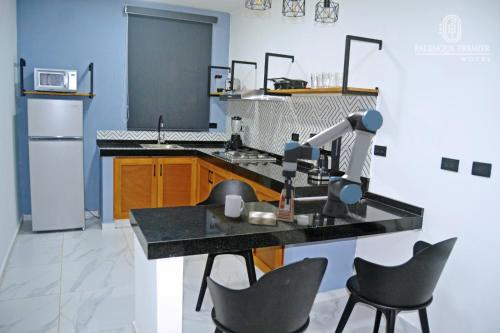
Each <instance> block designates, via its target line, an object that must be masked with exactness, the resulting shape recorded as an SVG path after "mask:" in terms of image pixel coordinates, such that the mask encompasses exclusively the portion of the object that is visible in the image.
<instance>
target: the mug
mask: <svg viewBox="0 0 500 333" xmlns="http://www.w3.org/2000/svg"><path fill="white" fill-rule="evenodd" d="M224 205H225V206H224V215H225V217H228V218H238V217H240V216H241V212H242V211H243V210H244V205H245V201H244V200H243V198H242V196H241V195H238V194H237V195H236V194H227V195H225V204H224Z"/></svg>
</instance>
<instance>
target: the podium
mask: <svg viewBox="0 0 500 333" xmlns="http://www.w3.org/2000/svg"><path fill="white" fill-rule="evenodd" d="M248 214H249V215H248V224H253V225H264V226H276V225H277V220H276V217H277V216H276V213H274V212H264V211H249V213H248Z"/></svg>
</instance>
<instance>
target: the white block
mask: <svg viewBox="0 0 500 333" xmlns="http://www.w3.org/2000/svg"><path fill="white" fill-rule="evenodd" d="M296 220H297V221H296V222H297V223H296V224H297V225H300V226H308V225H309V223H310V222H309V220H310V216H307V215H303V214H302V215H301V214H300V215H297V219H296Z"/></svg>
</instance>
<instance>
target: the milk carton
mask: <svg viewBox="0 0 500 333" xmlns="http://www.w3.org/2000/svg"><path fill="white" fill-rule="evenodd" d="M284 197H286V188H284V187H283V188H282V190H281V194H280V197H279V203H278V208H277V213H276V216H275V217H276V221H284V222H291V223H292V222H294V218H295V212H294V210H295V207H294V190H293V189H292V188H291V198H290V209H289V211H287V210H284V207H285V198H284Z"/></svg>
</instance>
